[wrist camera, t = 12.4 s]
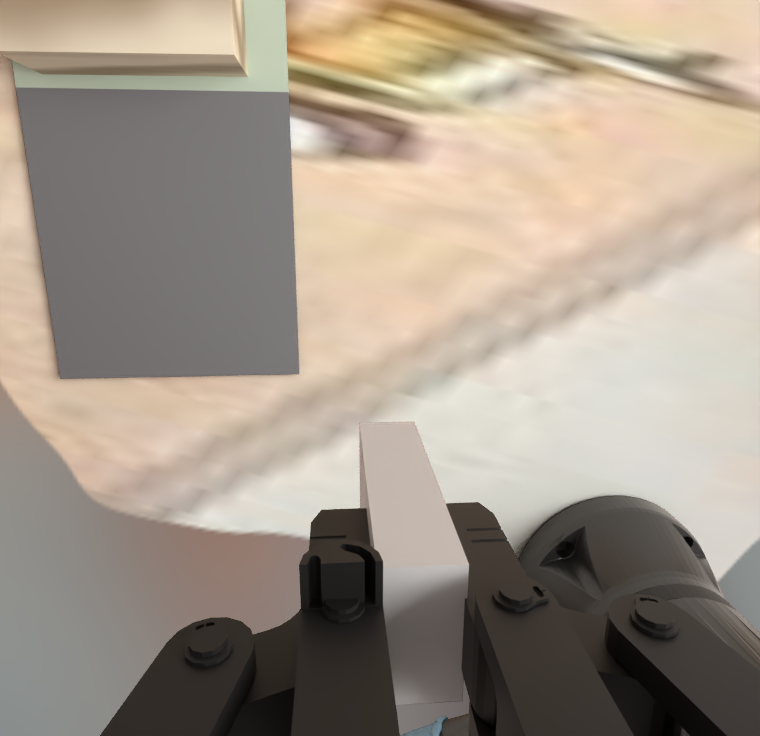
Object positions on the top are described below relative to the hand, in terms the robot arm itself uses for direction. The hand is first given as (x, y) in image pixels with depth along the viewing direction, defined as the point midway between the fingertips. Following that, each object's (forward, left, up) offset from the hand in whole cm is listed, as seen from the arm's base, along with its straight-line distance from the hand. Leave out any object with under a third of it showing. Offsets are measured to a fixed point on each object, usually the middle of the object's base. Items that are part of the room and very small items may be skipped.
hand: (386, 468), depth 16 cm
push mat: (+14, +12, -24) cm, 30 cm away
